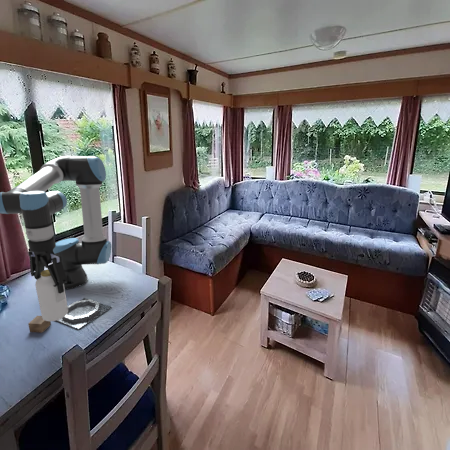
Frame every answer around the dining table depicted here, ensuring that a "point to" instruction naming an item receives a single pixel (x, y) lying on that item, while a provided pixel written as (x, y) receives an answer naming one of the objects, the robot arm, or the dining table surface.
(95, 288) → the dining table surface
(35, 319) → the walnut block
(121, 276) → the dining table surface
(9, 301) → the dining table surface
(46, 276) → the white plastic bottle
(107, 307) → the ring seat
